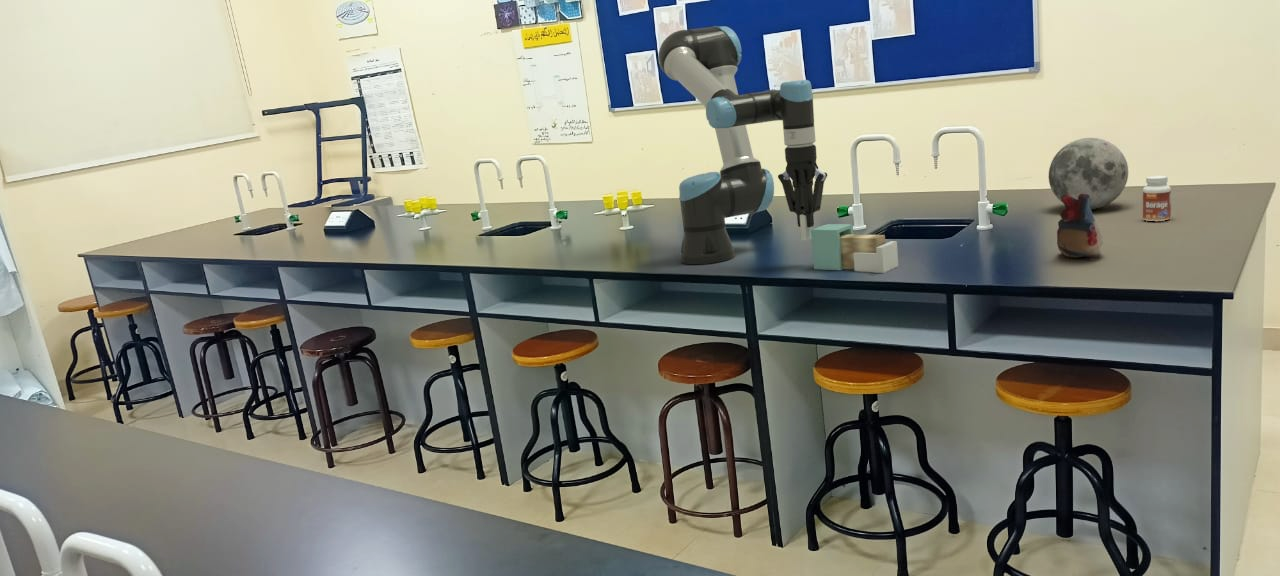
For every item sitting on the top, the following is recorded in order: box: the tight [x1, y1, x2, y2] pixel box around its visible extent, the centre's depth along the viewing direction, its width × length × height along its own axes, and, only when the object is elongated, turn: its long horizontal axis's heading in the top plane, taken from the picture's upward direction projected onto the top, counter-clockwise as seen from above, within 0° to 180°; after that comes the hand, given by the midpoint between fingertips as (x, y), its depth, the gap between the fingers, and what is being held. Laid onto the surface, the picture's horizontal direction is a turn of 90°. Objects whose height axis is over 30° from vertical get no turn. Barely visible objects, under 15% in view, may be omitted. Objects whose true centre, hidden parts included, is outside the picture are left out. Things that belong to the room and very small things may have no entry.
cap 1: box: [811, 223, 854, 271], centre depth 225 cm, size 7×7×10 cm
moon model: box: [1048, 137, 1129, 210], centre depth 256 cm, size 20×20×20 cm
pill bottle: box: [1142, 175, 1172, 220], centre depth 231 cm, size 6×6×11 cm
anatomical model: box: [1056, 194, 1104, 258], centre depth 203 cm, size 9×13×15 cm
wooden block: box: [840, 233, 886, 270], centre depth 221 cm, size 14×4×8 cm, turn 47°
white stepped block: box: [853, 240, 899, 274], centre depth 217 cm, size 8×7×6 cm
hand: (806, 239), depth 229 cm, fingers closed
